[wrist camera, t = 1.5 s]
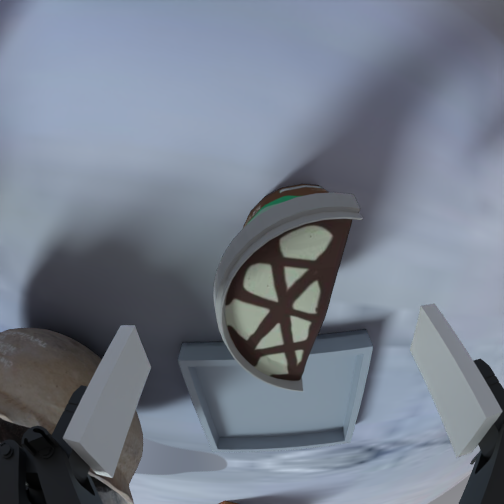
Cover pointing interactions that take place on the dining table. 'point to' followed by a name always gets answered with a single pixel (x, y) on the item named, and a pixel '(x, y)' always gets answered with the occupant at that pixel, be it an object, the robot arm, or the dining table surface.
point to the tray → (278, 396)
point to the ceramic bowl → (56, 396)
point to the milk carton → (226, 503)
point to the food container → (282, 280)
